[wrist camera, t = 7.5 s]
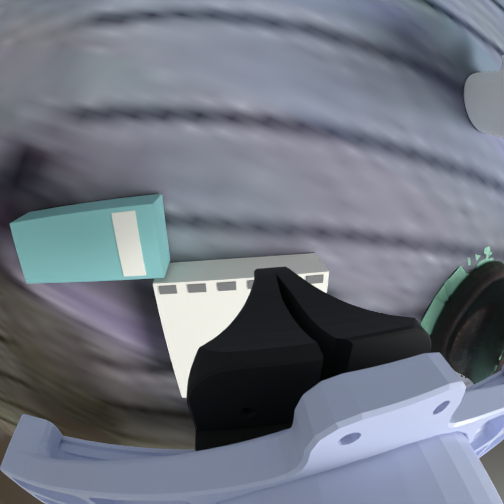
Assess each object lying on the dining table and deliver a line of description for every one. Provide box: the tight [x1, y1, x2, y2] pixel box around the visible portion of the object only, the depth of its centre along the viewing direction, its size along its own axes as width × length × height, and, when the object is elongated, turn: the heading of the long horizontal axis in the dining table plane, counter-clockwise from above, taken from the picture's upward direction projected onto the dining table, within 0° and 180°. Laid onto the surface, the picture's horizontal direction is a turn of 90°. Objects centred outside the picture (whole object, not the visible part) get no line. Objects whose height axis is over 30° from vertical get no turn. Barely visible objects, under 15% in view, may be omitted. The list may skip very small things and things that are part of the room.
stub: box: [10, 194, 170, 283], centre depth 19 cm, size 5×12×3 cm, turn 92°
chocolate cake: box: [420, 246, 504, 384], centre depth 25 cm, size 20×20×9 cm
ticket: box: [153, 253, 329, 398], centre depth 23 cm, size 12×12×3 cm
